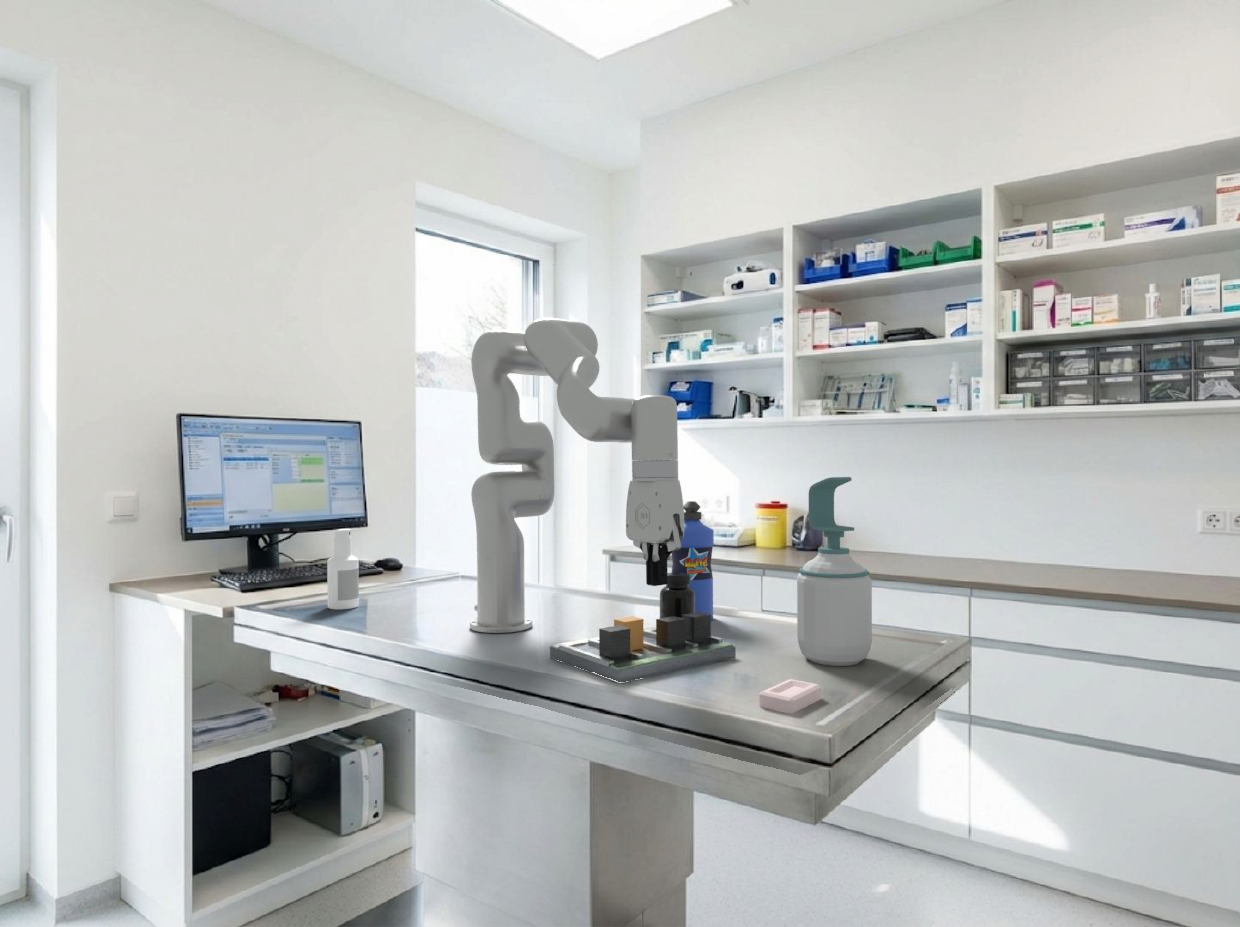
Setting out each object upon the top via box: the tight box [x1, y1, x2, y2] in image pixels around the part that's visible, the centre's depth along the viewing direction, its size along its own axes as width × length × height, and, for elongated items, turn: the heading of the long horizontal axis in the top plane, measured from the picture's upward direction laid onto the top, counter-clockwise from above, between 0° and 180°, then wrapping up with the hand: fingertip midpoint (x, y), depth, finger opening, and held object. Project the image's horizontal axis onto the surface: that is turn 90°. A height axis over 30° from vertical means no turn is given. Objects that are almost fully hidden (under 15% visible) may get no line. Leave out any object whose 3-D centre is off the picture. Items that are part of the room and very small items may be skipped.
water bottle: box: [670, 500, 715, 622], centre depth 171 cm, size 9×9×25 cm
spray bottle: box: [326, 528, 360, 611], centre depth 186 cm, size 7×7×18 cm
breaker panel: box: [549, 612, 737, 682], centre depth 139 cm, size 20×25×7 cm
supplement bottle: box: [659, 572, 695, 619], centre depth 156 cm, size 7×7×12 cm
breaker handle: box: [613, 615, 644, 651], centre depth 137 cm, size 3×4×5 cm
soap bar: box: [758, 678, 822, 714], centre depth 114 cm, size 5×9×2 cm, turn 140°
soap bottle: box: [796, 476, 873, 667], centre depth 137 cm, size 12×12×31 cm
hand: (657, 584), depth 131 cm, fingers closed
